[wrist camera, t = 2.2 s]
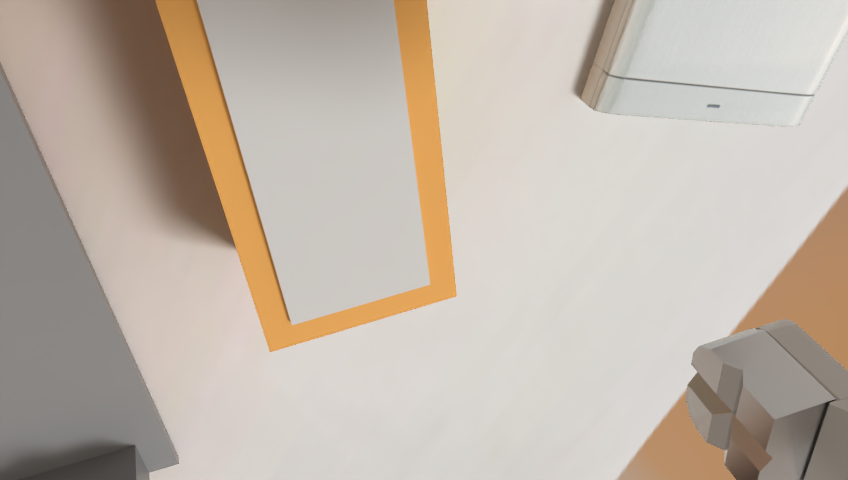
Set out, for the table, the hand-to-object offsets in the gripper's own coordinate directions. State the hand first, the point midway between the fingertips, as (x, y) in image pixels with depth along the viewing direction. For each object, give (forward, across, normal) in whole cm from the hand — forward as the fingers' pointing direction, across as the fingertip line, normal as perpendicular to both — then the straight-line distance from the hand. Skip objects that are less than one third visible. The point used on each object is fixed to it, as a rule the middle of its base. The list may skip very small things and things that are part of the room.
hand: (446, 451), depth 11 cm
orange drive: (+12, 0, -1) cm, 12 cm away
